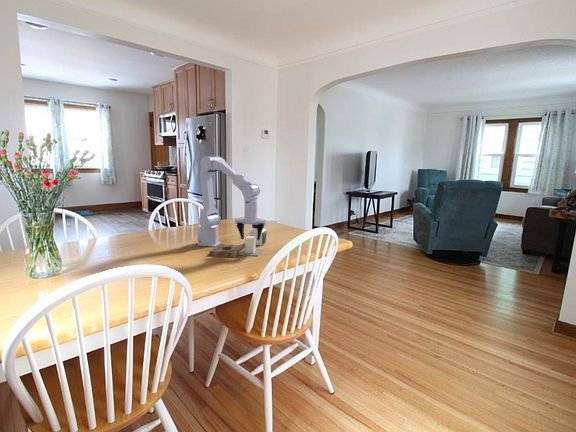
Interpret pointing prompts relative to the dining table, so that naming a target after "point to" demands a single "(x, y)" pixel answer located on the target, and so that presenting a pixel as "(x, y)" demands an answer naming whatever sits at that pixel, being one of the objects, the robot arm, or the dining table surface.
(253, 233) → the white bottle
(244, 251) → the mat
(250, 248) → the peg
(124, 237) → the dining table surface
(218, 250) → the pocket block
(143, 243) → the dining table surface
